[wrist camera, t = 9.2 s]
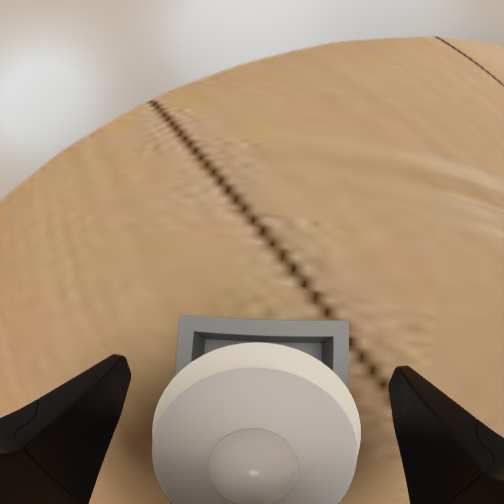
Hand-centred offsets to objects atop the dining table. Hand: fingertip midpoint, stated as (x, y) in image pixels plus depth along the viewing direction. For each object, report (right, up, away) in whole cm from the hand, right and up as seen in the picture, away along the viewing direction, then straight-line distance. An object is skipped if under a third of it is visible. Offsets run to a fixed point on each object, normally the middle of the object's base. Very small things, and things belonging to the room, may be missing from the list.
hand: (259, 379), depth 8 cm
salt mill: (0, -5, +7) cm, 8 cm away
